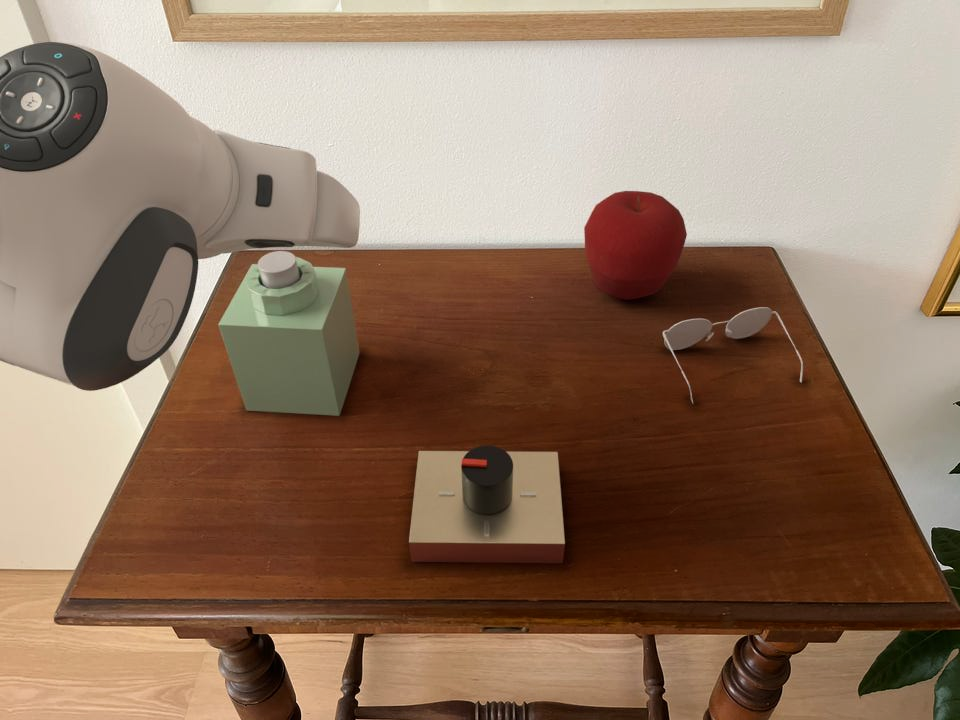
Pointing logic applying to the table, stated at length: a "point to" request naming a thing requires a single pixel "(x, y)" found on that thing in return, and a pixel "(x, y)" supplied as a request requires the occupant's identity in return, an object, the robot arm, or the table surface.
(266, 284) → the grey cylindrical peg
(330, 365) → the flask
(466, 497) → the knob
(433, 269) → the table surface
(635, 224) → the apple
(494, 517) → the panel
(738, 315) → the sunglasses
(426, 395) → the table surface
